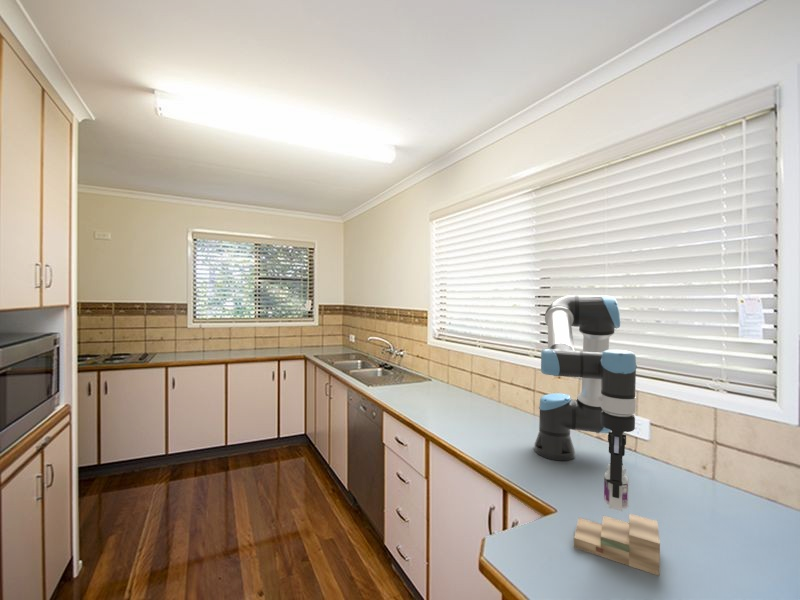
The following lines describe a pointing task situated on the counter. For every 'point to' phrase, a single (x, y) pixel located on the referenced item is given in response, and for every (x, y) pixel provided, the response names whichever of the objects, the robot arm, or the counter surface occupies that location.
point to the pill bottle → (624, 487)
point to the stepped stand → (622, 541)
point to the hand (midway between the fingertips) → (616, 502)
